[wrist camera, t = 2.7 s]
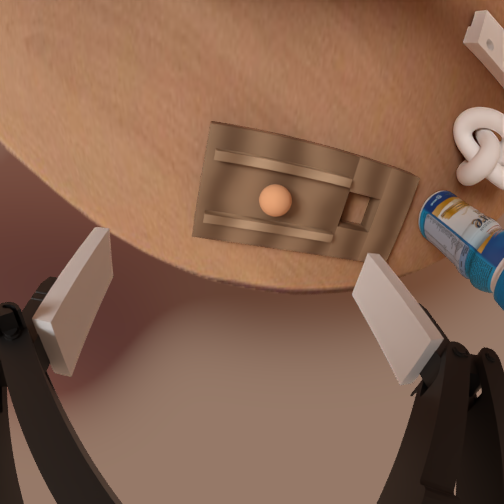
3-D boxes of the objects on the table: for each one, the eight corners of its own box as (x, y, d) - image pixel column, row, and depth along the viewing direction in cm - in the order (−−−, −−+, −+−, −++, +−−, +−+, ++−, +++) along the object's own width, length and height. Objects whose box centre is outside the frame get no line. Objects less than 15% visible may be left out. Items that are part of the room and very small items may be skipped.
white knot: (499, 125, 32) (539, 140, 24) (478, 191, 38) (515, 215, 30) (456, 94, 30) (502, 104, 22) (434, 170, 35) (475, 193, 28)
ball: (254, 206, 33) (257, 219, 30) (261, 177, 32) (265, 187, 29) (283, 211, 34) (289, 224, 31) (291, 183, 32) (298, 193, 29)
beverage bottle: (406, 229, 40) (492, 319, 23) (432, 179, 36) (535, 250, 19) (440, 245, 42) (517, 326, 25) (464, 200, 38) (553, 269, 21)
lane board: (193, 227, 37) (191, 241, 33) (211, 120, 30) (210, 124, 27) (377, 255, 41) (388, 269, 38) (409, 172, 35) (425, 181, 32)
